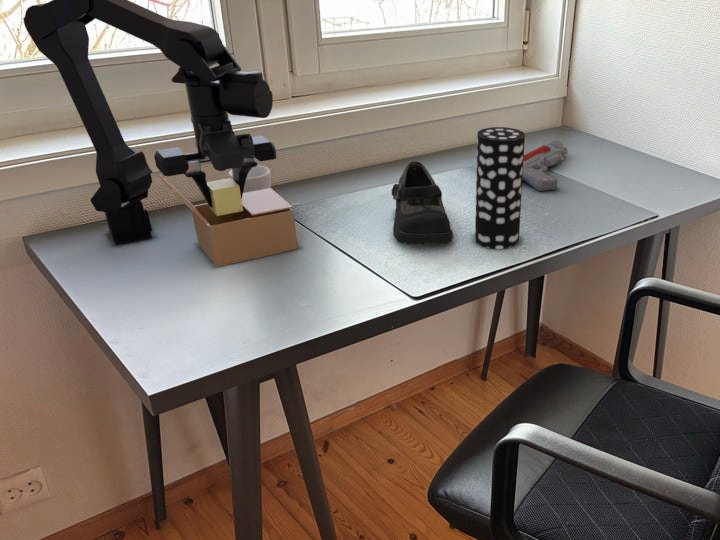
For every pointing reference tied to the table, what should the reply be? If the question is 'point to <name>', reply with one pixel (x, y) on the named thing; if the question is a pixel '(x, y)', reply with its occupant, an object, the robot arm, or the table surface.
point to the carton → (247, 229)
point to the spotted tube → (499, 186)
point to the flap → (182, 198)
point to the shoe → (419, 208)
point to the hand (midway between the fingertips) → (225, 203)
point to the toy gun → (542, 165)
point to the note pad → (225, 196)
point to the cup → (256, 179)
